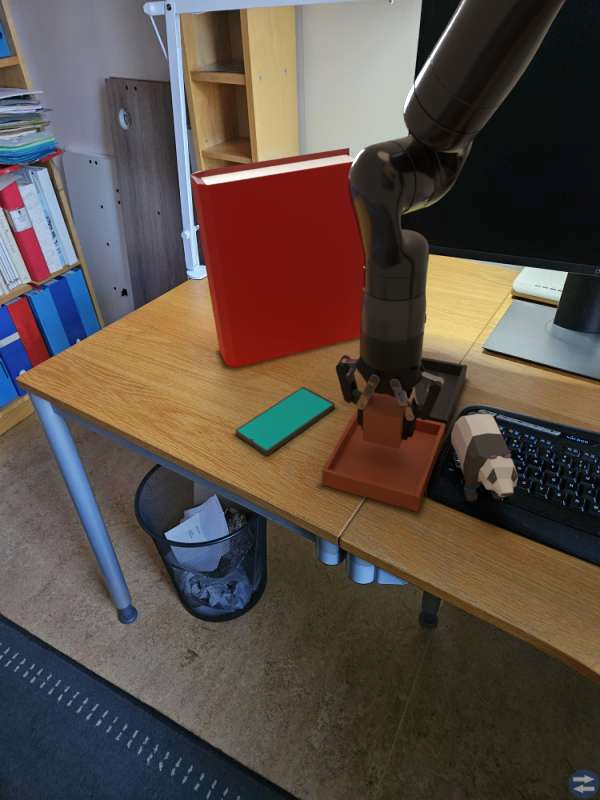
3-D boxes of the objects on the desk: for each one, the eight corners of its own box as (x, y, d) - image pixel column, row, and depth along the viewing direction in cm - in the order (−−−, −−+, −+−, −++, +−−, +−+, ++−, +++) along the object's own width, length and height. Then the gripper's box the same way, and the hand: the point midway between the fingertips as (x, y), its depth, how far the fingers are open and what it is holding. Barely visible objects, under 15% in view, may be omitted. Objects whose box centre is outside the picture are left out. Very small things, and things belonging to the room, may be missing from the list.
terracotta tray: (444, 438, 82) (446, 423, 81) (417, 512, 72) (419, 497, 70) (359, 418, 87) (359, 404, 85) (322, 485, 76) (321, 470, 74)
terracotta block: (408, 426, 77) (411, 397, 74) (398, 449, 73) (400, 420, 70) (373, 418, 79) (375, 389, 76) (362, 440, 75) (363, 411, 72)
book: (349, 316, 113) (349, 147, 93) (366, 335, 107) (370, 158, 87) (218, 347, 106) (188, 172, 87) (228, 369, 100) (199, 186, 80)
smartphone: (335, 403, 89) (266, 452, 81) (335, 407, 89) (267, 456, 81) (302, 386, 93) (233, 430, 85) (302, 390, 94) (234, 434, 85)
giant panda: (446, 452, 80) (453, 399, 74) (484, 449, 80) (495, 396, 74) (476, 533, 68) (487, 478, 62) (521, 530, 68) (537, 475, 62)
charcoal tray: (465, 379, 94) (467, 365, 92) (445, 434, 83) (447, 420, 81) (389, 364, 98) (389, 351, 97) (360, 415, 88) (361, 401, 86)
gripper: (323, 327, 65) (326, 436, 76) (446, 349, 60) (432, 462, 71) (345, 298, 71) (345, 404, 81) (460, 316, 66) (444, 426, 76)
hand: (386, 431), depth 76 cm, fingers closed on terracotta block, 5 cm apart
